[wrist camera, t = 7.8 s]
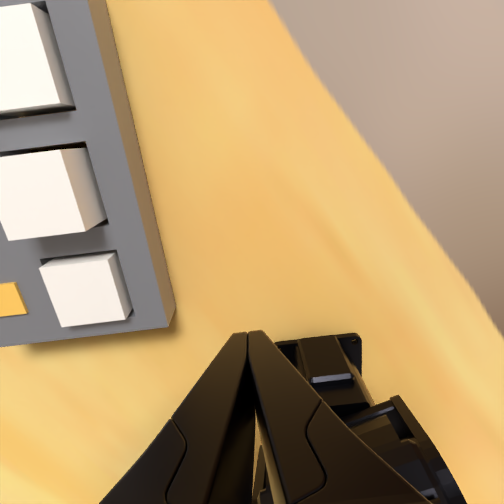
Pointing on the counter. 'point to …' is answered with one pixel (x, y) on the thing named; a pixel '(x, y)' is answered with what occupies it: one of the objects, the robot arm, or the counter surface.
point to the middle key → (49, 194)
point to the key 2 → (87, 288)
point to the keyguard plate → (109, 182)
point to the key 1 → (31, 64)
